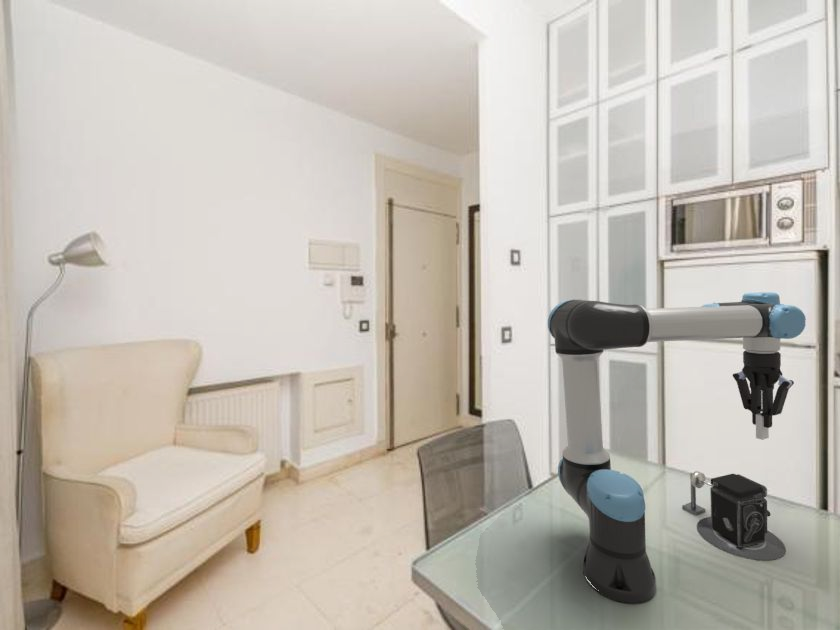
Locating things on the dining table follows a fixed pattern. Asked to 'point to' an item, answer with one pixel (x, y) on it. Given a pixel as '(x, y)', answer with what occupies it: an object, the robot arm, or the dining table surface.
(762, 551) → the disc
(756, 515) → the camera
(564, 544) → the dining table surface
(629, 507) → the robot arm
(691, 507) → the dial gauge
